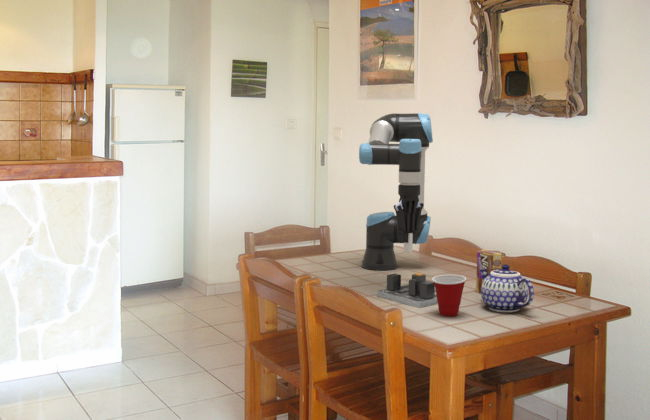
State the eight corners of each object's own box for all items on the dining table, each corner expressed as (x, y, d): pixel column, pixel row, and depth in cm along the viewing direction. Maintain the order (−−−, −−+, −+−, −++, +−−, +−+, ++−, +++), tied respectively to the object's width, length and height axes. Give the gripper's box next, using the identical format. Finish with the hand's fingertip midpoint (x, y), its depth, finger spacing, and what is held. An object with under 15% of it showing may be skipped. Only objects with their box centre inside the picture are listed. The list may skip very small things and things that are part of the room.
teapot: (548, 315, 222) (550, 270, 220) (510, 321, 215) (513, 274, 213) (497, 297, 244) (498, 256, 242) (462, 301, 238) (463, 259, 236)
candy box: (500, 295, 247) (502, 253, 245) (491, 297, 245) (492, 254, 243) (484, 290, 255) (486, 249, 253) (475, 291, 253) (476, 250, 251)
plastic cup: (423, 312, 224) (424, 275, 223) (450, 308, 229) (451, 272, 228) (445, 320, 215) (446, 282, 213) (472, 316, 220) (473, 279, 219)
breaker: (419, 286, 250) (419, 272, 249) (425, 288, 248) (425, 273, 247) (411, 288, 247) (411, 273, 247) (417, 290, 245) (418, 275, 244)
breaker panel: (415, 288, 258) (416, 269, 257) (458, 298, 243) (459, 278, 242) (377, 296, 245) (377, 276, 244) (419, 307, 230) (420, 286, 229)
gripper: (414, 182, 246) (412, 248, 249) (388, 184, 238) (386, 252, 241) (430, 183, 241) (428, 251, 243) (404, 185, 232) (402, 255, 235)
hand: (407, 251), depth 242 cm, fingers closed
